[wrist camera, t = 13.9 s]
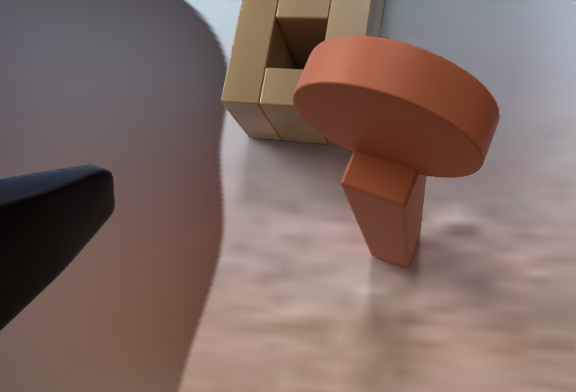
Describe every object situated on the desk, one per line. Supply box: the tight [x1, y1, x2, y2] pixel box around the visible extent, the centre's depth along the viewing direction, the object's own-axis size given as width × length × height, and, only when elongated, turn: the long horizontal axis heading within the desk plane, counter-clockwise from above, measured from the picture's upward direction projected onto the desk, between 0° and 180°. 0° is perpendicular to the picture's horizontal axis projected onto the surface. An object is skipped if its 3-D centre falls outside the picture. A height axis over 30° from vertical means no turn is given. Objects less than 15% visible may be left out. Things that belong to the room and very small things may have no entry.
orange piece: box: [293, 35, 499, 268], centre depth 15 cm, size 2×4×14 cm, turn 66°
